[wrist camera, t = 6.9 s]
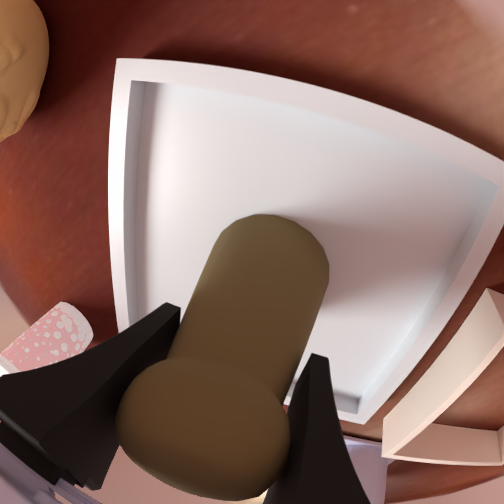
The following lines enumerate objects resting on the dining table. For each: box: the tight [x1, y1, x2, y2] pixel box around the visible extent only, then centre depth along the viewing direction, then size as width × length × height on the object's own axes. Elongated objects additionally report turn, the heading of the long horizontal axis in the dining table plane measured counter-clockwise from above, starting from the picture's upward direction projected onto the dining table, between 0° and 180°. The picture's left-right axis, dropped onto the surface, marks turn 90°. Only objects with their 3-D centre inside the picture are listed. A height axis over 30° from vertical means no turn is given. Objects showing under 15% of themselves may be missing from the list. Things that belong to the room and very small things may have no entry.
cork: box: [115, 215, 330, 501], centre depth 12 cm, size 6×6×11 cm
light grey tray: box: [108, 58, 504, 424], centre depth 16 cm, size 18×18×2 cm
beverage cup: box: [0, 302, 93, 377], centre depth 20 cm, size 6×6×14 cm
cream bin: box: [381, 288, 504, 466], centre depth 15 cm, size 13×13×4 cm
